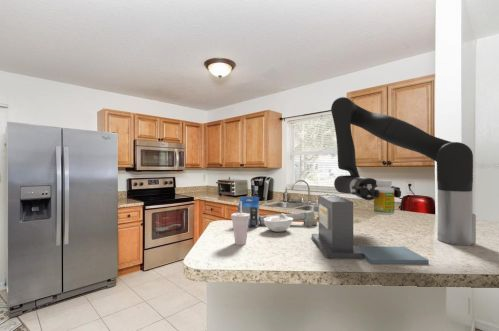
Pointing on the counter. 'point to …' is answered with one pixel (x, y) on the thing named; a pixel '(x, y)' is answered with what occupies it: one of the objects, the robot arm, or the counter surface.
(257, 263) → the counter surface
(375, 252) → the mat
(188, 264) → the counter surface
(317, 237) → the mounted unit
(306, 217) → the grey knobbed handle
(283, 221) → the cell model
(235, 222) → the smoothie
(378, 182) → the supplement bottle
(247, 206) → the label tape box
